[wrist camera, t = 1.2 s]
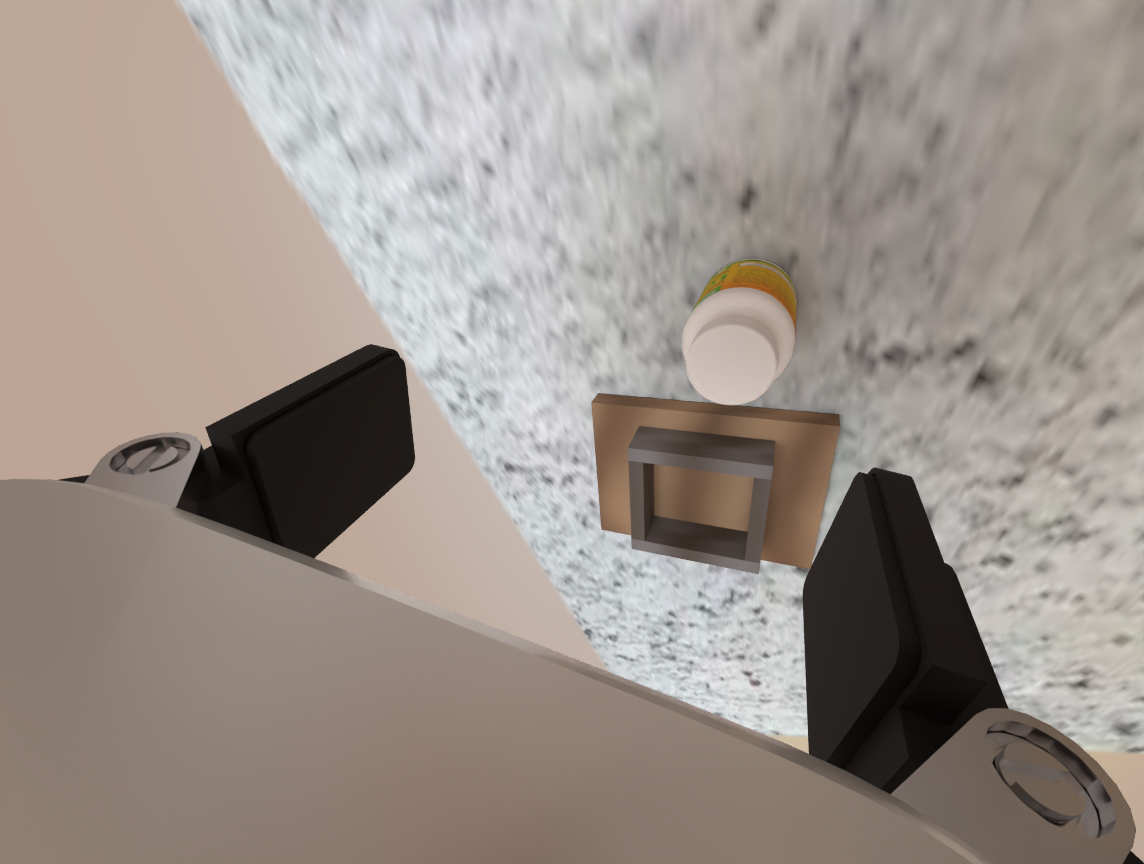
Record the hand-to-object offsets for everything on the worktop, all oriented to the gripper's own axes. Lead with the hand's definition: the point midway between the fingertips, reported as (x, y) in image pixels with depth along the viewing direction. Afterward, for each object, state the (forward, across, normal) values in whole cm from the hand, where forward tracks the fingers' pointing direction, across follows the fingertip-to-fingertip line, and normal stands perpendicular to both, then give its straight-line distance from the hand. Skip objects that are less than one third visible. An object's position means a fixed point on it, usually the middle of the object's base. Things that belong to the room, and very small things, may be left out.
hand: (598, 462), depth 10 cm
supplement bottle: (+24, -2, +3) cm, 24 cm away
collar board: (+24, -3, +16) cm, 29 cm away
